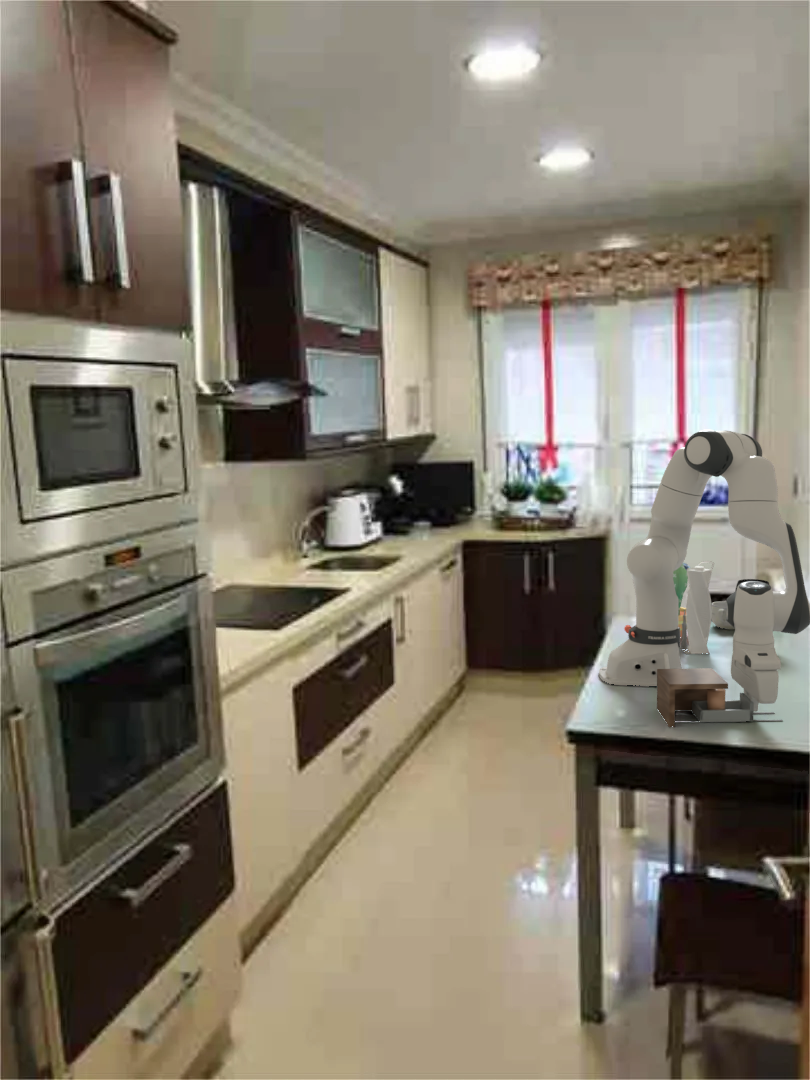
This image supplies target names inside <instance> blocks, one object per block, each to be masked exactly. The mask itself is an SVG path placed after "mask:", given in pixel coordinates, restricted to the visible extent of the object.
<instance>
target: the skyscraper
mask: <svg viewBox="0 0 810 1080" xmlns="http://www.w3.org/2000/svg"><path fill="white" fill-rule="evenodd" d="M704 563H707V564H708V563H709V564H712V565H711V567H710V568H705V566H704V565H702V564H704ZM714 566H715V562H713V560H703V561H701V562H699V563H698V564H697V565H695V566H694V567H690V568H688V569H687V576H688V582H687V583H688V592H687V597H686V603H685V604H686V605H685V608H686V615H685V609H684V615H683V623H682V637H681V638H680V640H681V642H680V650H681V649H685V650H686V649H688V650H687V651H685V650H683V651H685V652H683V651H682V652H683V653H684V654H685V655H710V651H709V648H708V641H709V636H710V630H711V625H712V619H711V616H712V605H711V604H712V599H711V593H710V590H709V586H710V582H711V577H712V574H713V573H712V572H713V568H714ZM686 627H687V629H686ZM687 641H688V642H687ZM688 651H689V652H688ZM702 653H703V654H702ZM706 653H708V654H706Z"/></svg>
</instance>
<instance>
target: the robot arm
mask: <svg viewBox="0 0 810 1080" xmlns="http://www.w3.org/2000/svg"><path fill="white" fill-rule="evenodd" d="M712 477H715V478H718V477H722V478H723V479H724V480H725V481H726V482H727V485H728V486H727V488H728V498H727V499H728V501H727V502H728V503H727V504H728V505H727V506H728V517H729V518H728V520H729V524H730V526H731V527H732V528H733V530H734V531H735V532H736V533H737V534H739V535H741V536H742V537H744V538H747V539H749V540H752V541H754V542H757V543H759V544H762V545H765V546H767V547H770V548H771V549H772V550H773V551H775V552H776V553H777V554H778V556H779V558H780V561H781V569H782V572H783V579H784V584H785V589H783V590H781V591H780V590H773V587H772V586H771V585H770V584H769V585H768V584H766V583H763V582H758V581H748V582H743V583H741V584H739V585H738V587H737V591H735V590H734V591H733V593H731V594H730V595H729V596H728V597H727V598H726V602H727V605H728V610H727V619H726V621H727V622H728V623H729V624H730V625H731V626H733V627H734V628H735V629H734V633H733V637H732V639H733V640H732V654H731V660H730V661H731V662H730V676H731V679H732V680H734V682H735V683H737V685H739V686H740V687H741V688H743V693H744V695H746V696H747V697H748V698H749V699H750V700H751V701H753V702H754V712H759V711H758V710H759V704H763V705H767V704H772V705H773V704H775V703H776V702H777V699H778V693H779V680H780V679H779V677H780V676H779V671H778V670H781V669H782V661H781V659H780V658H779V656H778V654H777V652H776V647H775V637H774V632H781V633H785V634H792V635H797V634H799V633H801V632H803V631H804V630H805V629H807V628H808V627H809V626H810V601H809V599H808V596H807V592H806V591H807V590H806V587H805V586H806V585H805V581H804V575H803V570H802V565H801V559H800V554H799V552H800V551H799V548H798V543H797V539H796V535H795V532H794V529H793V526H792V525H791V524H790V523H788V522H785V521H784V519H783V518H782V516H781V514H780V511H779V494H778V493H779V492H778V491H779V490H778V489H779V488H778V482H777V474H776V470H775V466H774V463H773V462H772V460H770V459H768V458H766V457H763V449H762V446H761V444H760V442H758V440H757V439H755V438H754V437H753V436H750V435H748V434H746V433H739V432H736V431H732V430H715V429H703V430H700V431H697V432H695V433H693V434H692V435H690V436H689V437H688V439H687V440H686V442H685V445H684V446H683V447H681V448H678V449H677V450H676V451H675V452H674V453H673V455H672V457H671V458H670V460H669V462H668V464H667V466H666V468H665V470H664V473H663V474H662V477H661V481H660V484H659V486H658V488H657V492H656V495H655V498H654V501H653V504H652V506H651V510H650V513H651V519H650V525H649V526H650V527H649V531H648V535H647V536H646V538H645V539H643V540H640V541H638V542H637V543H636V544H635V545H634V546H633V547H632V548H631V550H629V553H628V555H627V558H626V565H627V569H628V571H629V572H630V574H631V579H632V583H633V584H632V585H633V587H634V588H633V589H634V595H635V617H636V618H635V625H633V626H631V625H629V624H627V625H625V626H624V628H623V629H624V631H625V632H626V633H627V634H628V639H627V640H625V641H624V642H622V643H621V644H620V645H619V646H617V647H616V648H614V649H612V650H611V651H610V653H609V655H608V657H607V664H606V666H602V667H601V668H600V669H599V670H598V676H599V679H600V680H601V681H603V682H604V681H605V682H604V683H606V682H607V683H606V684H608V683H609V684H608V685H611V684H614V685H613V686H627V685H633V686H634V687H649V686H657V669H683V667H682V661H681V656H680V648H681V638H680V627H678V613H679V599H678V596H677V595H676V591H675V586H674V581H673V572H674V571H675V570H677V569H678V568H679V567H680V566H681V565H682V564H683V563H685V560H686V557H687V554H688V553H687V552H688V551H687V550H688V547H689V542H690V538H691V531H692V527H693V524H694V521H695V517H696V514H697V512H698V509H699V506H700V503H701V500H702V497H703V495H704V492H705V489H706V486H707V483H708V481H709V480H710V478H712ZM635 685H636V686H635ZM639 685H640V686H639ZM633 686H632V687H633Z"/></svg>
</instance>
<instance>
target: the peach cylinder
mask: <svg viewBox="0 0 810 1080" xmlns="http://www.w3.org/2000/svg"><path fill="white" fill-rule="evenodd" d="M726 690H727V689H707V710H725V700H726Z"/></svg>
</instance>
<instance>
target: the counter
mask: <svg viewBox="0 0 810 1080" xmlns="http://www.w3.org/2000/svg"><path fill="white" fill-rule="evenodd" d="M707 689H725V690H728V689H729V683H728V682H727V681H726V680H725V679H724V678H723V677H722V676H720V674H719V673H718V672H717V671H715V669H714V668H712V667H709V668H708V667H707V668H705V667H703V668H702V667H701V668H698V667H697V668H682V669H657V687H656V710H657V709H658V710H659V712H660V713H661V715H662V716H663V718H664V719H665V721H666V722H667V723H666V722H665V721H664V722H665V723H666V725H667V724H668V725H667V726H668V728H675V727H676V726H675V723H676V722H675V721H676V715H675V713H676V711H675V710H692V701H707ZM659 712H658V713H659ZM660 713H659V714H660ZM774 714H775V712H774V711H769V712H768V711H764V712H762V711H760V712H759V711H756V712H753V715H774ZM661 715H660V716H661ZM662 716H661V717H662ZM663 718H662V719H663ZM664 719H663V720H664ZM753 721H757V722H783V721H784V720H783V719H753ZM672 726H673V727H672Z"/></svg>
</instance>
